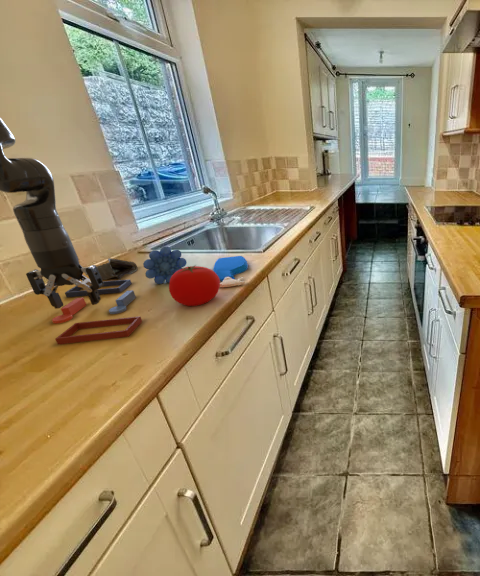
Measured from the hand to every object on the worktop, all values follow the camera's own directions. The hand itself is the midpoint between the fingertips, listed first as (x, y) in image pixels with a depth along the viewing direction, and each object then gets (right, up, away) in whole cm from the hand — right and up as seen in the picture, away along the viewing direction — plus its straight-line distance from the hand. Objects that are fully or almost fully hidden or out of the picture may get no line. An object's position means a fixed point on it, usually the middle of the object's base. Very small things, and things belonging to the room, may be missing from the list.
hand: (78, 305), depth 84 cm
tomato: (+30, +1, +5) cm, 30 cm away
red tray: (+16, -6, -11) cm, 20 cm away
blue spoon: (+11, -1, +2) cm, 11 cm away
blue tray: (-4, +4, +11) cm, 13 cm away
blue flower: (+13, +6, +18) cm, 23 cm away
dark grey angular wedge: (-9, +9, +23) cm, 27 cm away
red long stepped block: (+1, -2, -2) cm, 3 cm away
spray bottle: (+30, +9, +23) cm, 39 cm away
